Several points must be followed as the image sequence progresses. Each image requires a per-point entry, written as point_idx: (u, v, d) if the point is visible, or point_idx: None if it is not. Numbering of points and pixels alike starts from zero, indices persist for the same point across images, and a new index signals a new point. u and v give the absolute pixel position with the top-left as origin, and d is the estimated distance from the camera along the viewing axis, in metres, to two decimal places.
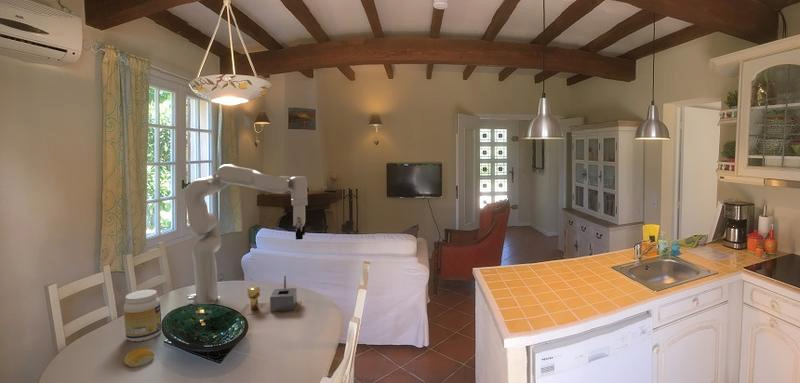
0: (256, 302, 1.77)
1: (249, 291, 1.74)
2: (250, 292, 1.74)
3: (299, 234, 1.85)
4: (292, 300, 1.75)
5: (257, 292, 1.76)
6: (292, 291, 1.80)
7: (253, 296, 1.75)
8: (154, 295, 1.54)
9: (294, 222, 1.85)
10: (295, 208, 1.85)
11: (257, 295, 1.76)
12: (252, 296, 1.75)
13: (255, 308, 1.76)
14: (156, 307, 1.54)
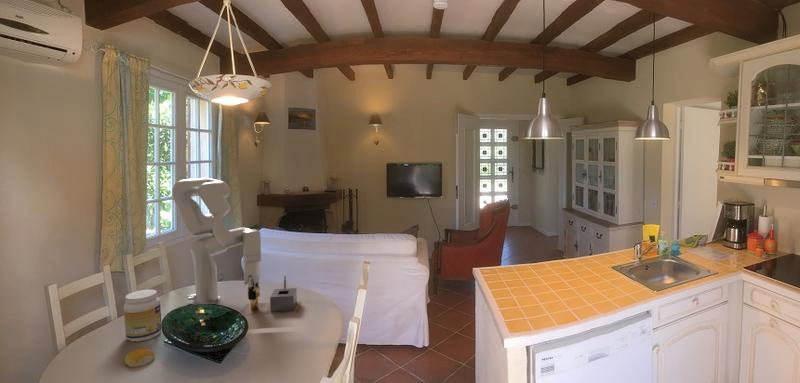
0: (256, 302, 1.77)
1: None
2: None
3: (252, 294, 1.73)
4: (292, 300, 1.75)
5: (257, 292, 1.76)
6: (292, 291, 1.80)
7: None
8: (154, 295, 1.54)
9: (245, 280, 1.71)
10: (246, 265, 1.71)
11: (257, 295, 1.76)
12: None
13: (255, 308, 1.76)
14: (156, 307, 1.54)
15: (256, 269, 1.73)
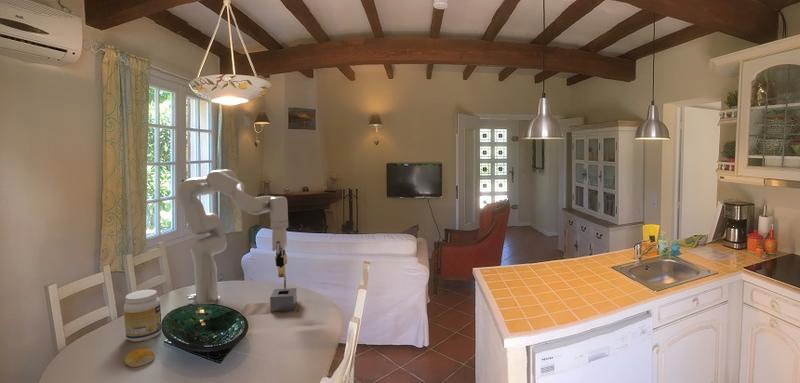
0: (283, 269, 1.77)
1: None
2: None
3: (280, 261, 1.73)
4: (292, 300, 1.75)
5: (284, 259, 1.76)
6: (292, 291, 1.80)
7: None
8: (154, 295, 1.54)
9: (273, 247, 1.71)
10: (274, 231, 1.71)
11: (284, 262, 1.76)
12: None
13: (282, 275, 1.76)
14: (156, 307, 1.54)
15: (284, 235, 1.73)
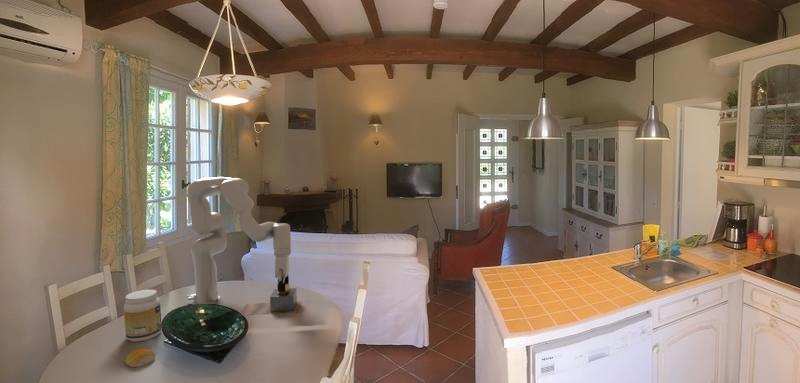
0: None
1: None
2: None
3: (281, 287, 1.73)
4: (292, 300, 1.75)
5: (287, 288, 1.77)
6: (292, 291, 1.80)
7: (283, 292, 1.76)
8: (154, 295, 1.54)
9: (276, 274, 1.72)
10: (277, 259, 1.72)
11: (287, 291, 1.77)
12: (282, 292, 1.76)
13: None
14: (156, 307, 1.54)
15: (286, 262, 1.74)
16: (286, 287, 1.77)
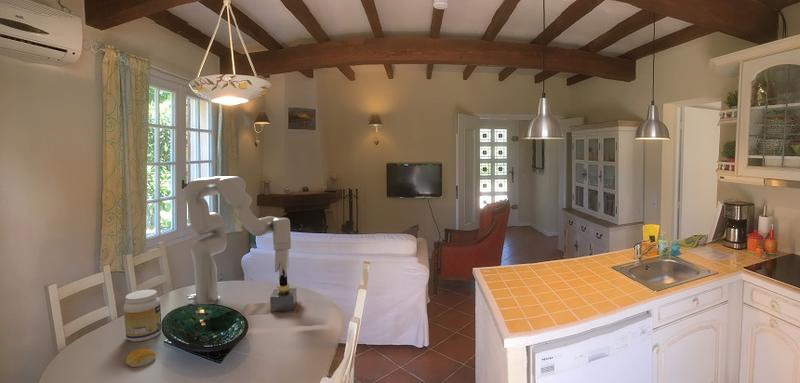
0: None
1: (279, 287, 1.76)
2: (281, 288, 1.76)
3: (283, 280, 1.77)
4: (292, 300, 1.75)
5: (287, 288, 1.77)
6: (292, 291, 1.80)
7: (283, 292, 1.76)
8: (154, 295, 1.54)
9: (276, 268, 1.72)
10: (277, 253, 1.72)
11: (287, 291, 1.77)
12: (282, 292, 1.76)
13: None
14: (156, 307, 1.54)
15: (286, 257, 1.74)
16: (286, 287, 1.77)
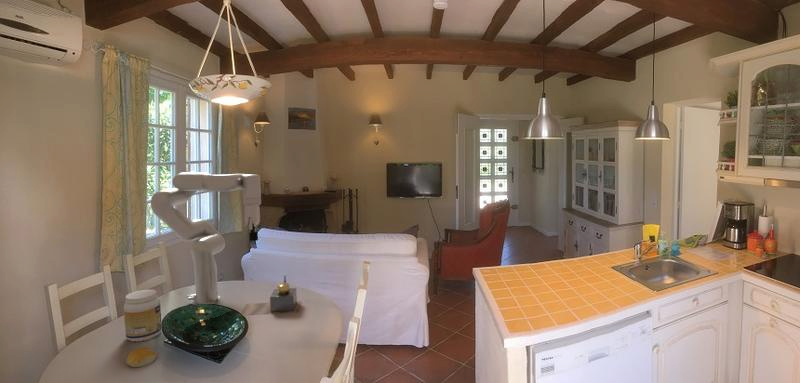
0: None
1: (279, 287, 1.76)
2: (281, 288, 1.76)
3: (253, 235, 1.81)
4: (292, 300, 1.75)
5: (287, 288, 1.77)
6: (292, 291, 1.80)
7: (283, 292, 1.76)
8: (154, 295, 1.54)
9: (245, 222, 1.77)
10: (246, 207, 1.77)
11: (287, 291, 1.77)
12: (282, 292, 1.76)
13: None
14: (156, 307, 1.54)
15: (256, 212, 1.79)
16: (286, 287, 1.77)
